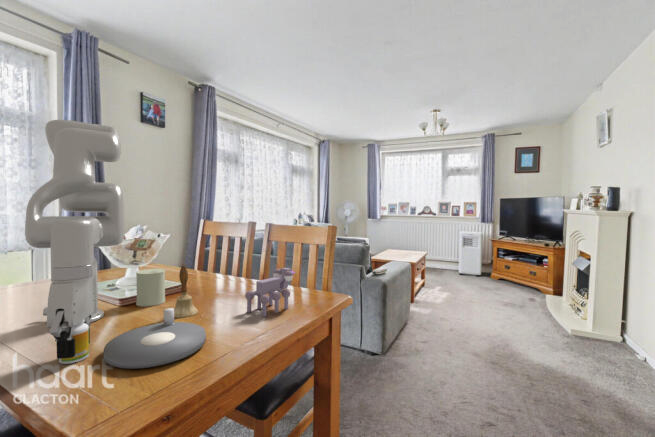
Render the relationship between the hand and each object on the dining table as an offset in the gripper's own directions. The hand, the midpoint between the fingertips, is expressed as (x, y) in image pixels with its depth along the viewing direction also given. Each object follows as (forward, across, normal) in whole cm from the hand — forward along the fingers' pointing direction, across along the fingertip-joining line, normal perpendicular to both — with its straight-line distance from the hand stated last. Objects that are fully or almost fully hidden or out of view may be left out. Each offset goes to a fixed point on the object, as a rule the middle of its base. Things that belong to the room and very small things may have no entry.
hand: (74, 350), depth 70 cm
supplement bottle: (+2, 0, 0) cm, 2 cm away
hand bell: (+2, -27, +18) cm, 33 cm away
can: (+2, -41, +4) cm, 41 cm away
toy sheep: (+2, -27, +48) cm, 55 cm away
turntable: (+2, -2, +17) cm, 17 cm away
